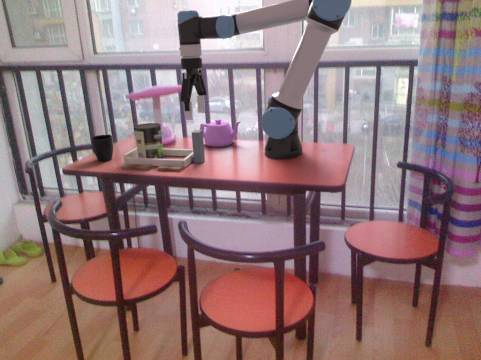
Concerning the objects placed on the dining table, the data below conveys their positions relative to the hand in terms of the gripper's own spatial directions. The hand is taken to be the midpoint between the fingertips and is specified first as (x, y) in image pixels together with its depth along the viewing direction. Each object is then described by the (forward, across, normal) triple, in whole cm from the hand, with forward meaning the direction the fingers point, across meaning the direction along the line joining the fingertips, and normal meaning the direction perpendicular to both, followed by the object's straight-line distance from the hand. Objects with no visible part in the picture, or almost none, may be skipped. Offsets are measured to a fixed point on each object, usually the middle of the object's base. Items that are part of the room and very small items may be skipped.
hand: (195, 116), depth 157 cm
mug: (+18, 0, -40) cm, 44 cm away
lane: (+18, 0, -13) cm, 22 cm away
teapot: (+18, -27, +1) cm, 33 cm away
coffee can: (+18, 0, -20) cm, 27 cm away
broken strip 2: (+18, +10, -7) cm, 22 cm away
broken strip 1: (+18, +10, -21) cm, 30 cm away
